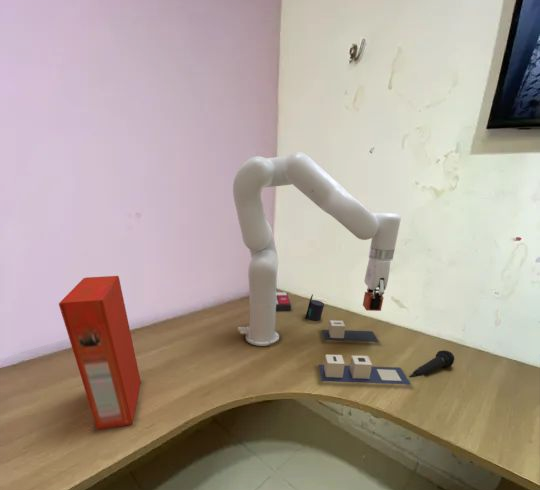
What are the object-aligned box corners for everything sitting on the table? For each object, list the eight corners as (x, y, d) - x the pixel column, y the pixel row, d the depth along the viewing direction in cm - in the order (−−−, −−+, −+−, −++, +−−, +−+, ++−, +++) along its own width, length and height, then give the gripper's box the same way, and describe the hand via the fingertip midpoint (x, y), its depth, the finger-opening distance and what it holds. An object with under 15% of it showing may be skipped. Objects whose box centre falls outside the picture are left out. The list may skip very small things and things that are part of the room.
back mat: (324, 342, 115) (324, 340, 114) (321, 331, 123) (321, 329, 122) (378, 344, 114) (378, 342, 114) (372, 333, 122) (372, 331, 122)
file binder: (96, 429, 73) (58, 302, 59) (110, 386, 88) (83, 277, 74) (132, 424, 75) (104, 299, 61) (141, 383, 90) (120, 275, 76)
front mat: (321, 383, 91) (321, 380, 91) (318, 367, 99) (318, 364, 99) (410, 387, 91) (410, 384, 90) (399, 370, 99) (400, 367, 98)
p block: (352, 378, 92) (355, 363, 90) (349, 369, 97) (351, 355, 95) (369, 378, 92) (372, 364, 90) (365, 369, 97) (368, 355, 95)
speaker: (300, 319, 133) (304, 296, 128) (306, 315, 137) (311, 294, 132) (315, 325, 129) (320, 302, 124) (322, 321, 133) (327, 299, 129)
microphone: (411, 390, 94) (452, 367, 102) (419, 379, 90) (461, 355, 98) (398, 377, 97) (439, 355, 105) (404, 366, 93) (447, 344, 101)
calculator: (267, 303, 139) (264, 291, 152) (266, 312, 141) (264, 299, 154) (291, 303, 140) (286, 291, 153) (290, 312, 142) (286, 299, 155)
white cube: (325, 377, 93) (327, 362, 90) (323, 368, 97) (325, 354, 95) (342, 377, 92) (344, 363, 90) (339, 368, 97) (341, 354, 95)
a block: (330, 337, 116) (331, 325, 114) (328, 332, 120) (329, 320, 118) (343, 338, 116) (345, 326, 114) (341, 332, 120) (343, 320, 118)
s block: (366, 310, 106) (368, 296, 104) (362, 305, 111) (364, 291, 108) (380, 310, 106) (383, 297, 104) (376, 305, 111) (379, 292, 108)
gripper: (363, 248, 108) (355, 297, 116) (377, 259, 92) (367, 315, 100) (384, 248, 108) (375, 298, 116) (402, 260, 92) (390, 316, 100)
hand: (372, 305), depth 108 cm, fingers closed on s block, 5 cm apart
